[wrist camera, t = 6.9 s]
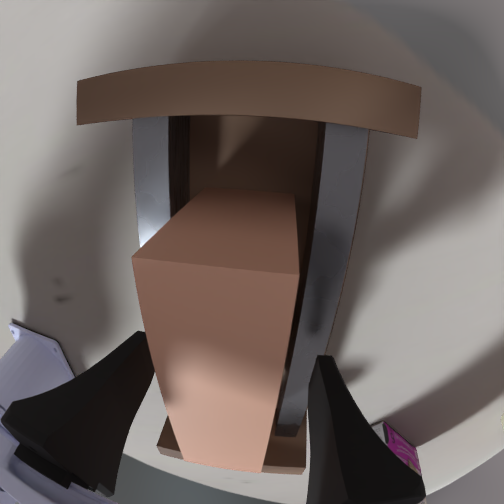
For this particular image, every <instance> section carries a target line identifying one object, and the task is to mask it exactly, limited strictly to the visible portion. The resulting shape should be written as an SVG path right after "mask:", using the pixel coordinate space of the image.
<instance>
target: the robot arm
mask: <svg viewBox="0 0 504 504" xmlns="http://www.w3.org/2000/svg"><path fill="white" fill-rule="evenodd" d="M9 328H10V330H11V332H12V334H13V337H14V339H15V341H16V342H15V343H14V344H13V345H12V346H11V347H10V349H9V350H8V351H7V352H6V353H5V354H4V356H3V357H2V358H1V359H0V504H15V503H16V502H19V503H20V504H119V503H116V502H114V501H111V500H109V499H107V498H104V497H102V496H100V495H97V494H95V493H93V492H97V493H99V494H101V495H103V496H106V497H110V496H112V495H114V491H115V484H116V479H117V473H118V469H119V465H120V460H121V456H122V453H123V449H124V445H125V442H126V439H127V436H128V433H129V430H130V427H131V424H132V422H133V419H134V417H135V415H136V413H137V411H138V409H139V407H140V405H141V403H142V401H143V399H144V397H145V395H146V392H147V390H148V388H149V386H150V384H151V381H152V378H153V376H154V372H155V369H154V365H153V361H152V358H151V354H150V349H149V345H148V341H147V337H146V332H142V331H137V332H136V333H134V334H133V335H132V336H131V337H129V338H128V339H127V340H126V341H124V342H123V343H122V344H121V345H120V346H118V347H117V348H116V349H115V350H113V351H112V352H111V353H110V354H108V355H107V356H106V357H105V358H103V359H102V360H101V361H99V362H98V363H96V364H95V365H94V366H92V367H91V368H90V369H88V370H87V371H85V372H84V373H82V374H80V375H79V376H77V377H74V375H73V373H72V371H71V369H70V367H69V365H68V363H67V361H66V359H65V357H64V355H63V352H62V350H61V348H60V346H59V344H58V343H57V342H56V341H55V340H52V339H50V338H47V337H45V336H42V335H39V334H37V333H34V332H32V331H30V330H27V329H25V328H22V327H20V326H18V325H15V324H13V323H10V324H9ZM308 419H309V434H310V456H311V457H310V473H309V484H308V494H307V502H306V504H418V503H420V502H421V501H423V500H424V498H425V497H426V492H425V486H424V483H423V480H422V476H420V475H419V474H418V473H416V472H415V471H414V470H412V469H411V468H410V467H409V466H408V465H406V464H405V463H404V462H403V461H402V460H401V459H400V458H399V457H398V456H396V455H395V454H394V452H393V451H392V450H391V449H390V448H389V447H388V446H387V445H386V444H385V443H384V442H383V441H382V440H381V438H380V437H379V436H378V435H377V433H376V432H375V431H374V430H373V428H372V427H371V426H370V424H369V423H368V422H367V420H366V419H365V417H364V416H363V414H362V413H361V411H360V409H359V408H358V406H357V405H356V403H355V401H354V399H353V398H352V396H351V394H350V392H349V390H348V388H347V387H346V385H345V383H344V381H343V379H342V377H341V374H340V372H339V370H338V368H337V365H336V363H335V361H334V358H333V357H332V356H327V355H317V358H316V361H315V365H314V368H313V372H312V375H311V378H310V382H309V385H308ZM88 489H89V490H91V491H93V492H91V491H89V490H88Z"/></svg>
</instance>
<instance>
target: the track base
mask: <svg viewBox="0 0 504 504" xmlns="http://www.w3.org/2000/svg"><path fill="white" fill-rule="evenodd" d="M420 103H421V87H419V86H416V85H412V84H409V83H405V82H401V81H397V80H393V79H389V78H385V77H381V76H376V75H372V74H367V73H362V72H357V71H351V70H346V69H339V68H333V67H326V66H318V65H310V64H300V63H288V62H273V61H202V62H187V63H176V64H166V65H157V66H150V67H143V68H136V69H130V70H125V71H119V72H114V73H109V74H104V75H100V76H95V77H91V78H87V79H83V80H79V81H77V125H83V124H90V123H98V122H106V121H115V120H126V119H133V165H134V184H135V198H136V211H137V222H138V231H139V240H140V248H141V247H142V246H143V245H144V244H145V243H146V242H147V241H148V240H149V239H150V238H151V237H152V236H153V235H154V234H155V233H156V232H157V231H158V230H159V229H161V228H162V227H163V226H164V225H165V224H166V223H167V222H168V221H169V220H170V219H171V218H172V217H173V216H174V215H175V214H176V213H177V212H179V211H180V210H181V209H182V208H183V207H184V206H185V205H186V204H187V203H188V202H189V201H191V200H192V199H193V198H194V197H195V196H196V195H197V194H198V193H199V192H201V191H202V190H203V189H204V188H205V187H206V188H224V189H239V190H253V191H265V192H277V193H288V194H294V197H295V210H296V224H297V240H298V257H299V281H298V288H297V294H296V301H295V307H294V313H293V319H292V325H291V331H290V337H289V342H288V348H287V353H286V359H285V364H284V369H283V374H282V380H281V385H280V390H279V395H278V399H277V404H276V409H275V414H274V418H273V423H272V428H271V432H270V436H269V441H268V445H267V449H266V454H265V458H264V462H263V466H262V470H261V472H264V473H277V474H297V475H302V473H303V472H304V470H305V468H306V432H307V408H308V385H309V382H310V378H311V375H312V372H313V368H314V365H315V361H316V358H317V355H325V353H326V349H327V346H328V342H329V339H330V335H331V332H332V328H333V325H334V321H335V317H336V313H337V309H338V306H339V302H340V298H341V294H342V289H343V285H344V281H345V277H346V272H347V268H348V263H349V259H350V254H351V249H352V244H353V239H354V234H355V229H356V223H357V218H358V212H359V206H360V200H361V194H362V187H363V180H364V173H365V166H366V158H367V150H368V141H369V132H370V130H375V131H380V132H386V133H391V134H396V135H401V136H406V137H411V138H415V139H417V135H418V126H419V115H420ZM157 448H158V450H159V452H160V453H161V454H163V455H166V456H170V457H174V458H178V459H183V456H182V453H181V451H180V448H179V445H178V442H177V440H176V437H175V434H174V431H173V428H172V425H171V422H170V419H169V416H167V419H166V421H165V424H164V427H163V430H162V432H161V435H160V438H159V441H158V443H157ZM183 460H184V459H183Z"/></svg>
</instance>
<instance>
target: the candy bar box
mask: <svg viewBox="0 0 504 504" xmlns="http://www.w3.org/2000/svg"><path fill="white" fill-rule="evenodd" d="M371 427H372V428H373V430H374V431H375V432H376V433H377V435H378V436H379V437H380V438H381V440H382V441H383V442H384V443H385V444H386V445H387V446H388V447H389V448H390V449H391V450H392V451H393V452H394V454H395V455H396V456H398V457H399V458H400V459H401V460H402V461H403V462H404V463H405V464H406V465H408V466H409V467H410V468H411V469H412V470H414V471H415V472H416V473H418V474H419V475H420V476H422V474H421V469H420V465H419V459H418V455H417V450H416V448H415V447H413V446H412V445H411V444H410V443H408V442H407V441H406V440H405V439H404V438H402V437H401V436H400V435H399V434H398V433H397V432H395V431H394V430H393V429H392V428H391V427H390V426H388V425H387V424H386V423H385V422H384V421H382V422H379V423H376V424H373V425H371ZM418 504H426V497H425V498H424V500H423V501H421V502H420V503H418Z"/></svg>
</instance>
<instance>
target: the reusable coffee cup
mask: <svg viewBox="0 0 504 504" xmlns="http://www.w3.org/2000/svg"><path fill="white" fill-rule="evenodd" d="M501 423H502V427H503V431H504V413H503V415H502V417H501Z"/></svg>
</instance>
